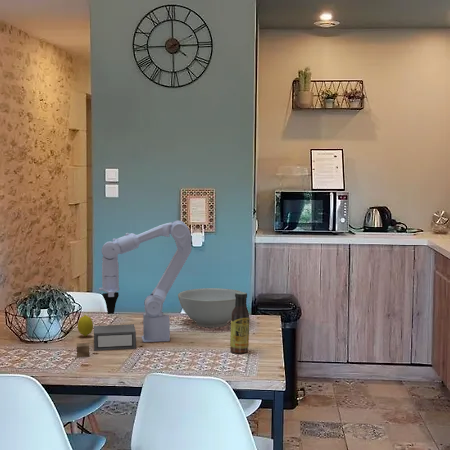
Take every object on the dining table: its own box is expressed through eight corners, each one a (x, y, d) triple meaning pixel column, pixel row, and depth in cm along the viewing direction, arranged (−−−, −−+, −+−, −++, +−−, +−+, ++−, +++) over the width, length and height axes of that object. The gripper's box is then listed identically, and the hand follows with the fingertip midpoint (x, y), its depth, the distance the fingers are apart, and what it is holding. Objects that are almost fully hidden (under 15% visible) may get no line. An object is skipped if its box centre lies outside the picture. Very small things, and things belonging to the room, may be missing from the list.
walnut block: (89, 353, 215) (89, 342, 214) (89, 356, 211) (89, 346, 210) (77, 353, 214) (76, 343, 214) (76, 357, 210) (76, 346, 210)
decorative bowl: (164, 323, 258) (164, 293, 257) (214, 313, 276) (214, 285, 275) (208, 335, 238) (208, 303, 238) (259, 324, 256) (259, 294, 255)
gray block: (133, 340, 231) (133, 324, 231) (135, 348, 221) (135, 331, 220) (93, 342, 229) (93, 325, 228) (94, 350, 218) (93, 333, 217)
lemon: (89, 338, 234) (89, 317, 233) (75, 338, 235) (74, 316, 234) (95, 335, 239) (95, 313, 238) (81, 334, 240) (81, 313, 239)
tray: (130, 338, 230) (130, 328, 229) (132, 345, 220) (132, 334, 220) (97, 339, 227) (97, 329, 227) (97, 347, 218) (97, 336, 218)
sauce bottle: (235, 354, 213) (235, 295, 212) (226, 350, 219) (226, 292, 217) (252, 352, 216) (253, 293, 215) (243, 348, 222) (243, 290, 220)
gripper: (98, 272, 235) (99, 309, 236) (99, 279, 221) (99, 318, 222) (118, 272, 237) (118, 308, 238) (120, 278, 222) (120, 317, 224)
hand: (110, 313), depth 230 cm, fingers closed
